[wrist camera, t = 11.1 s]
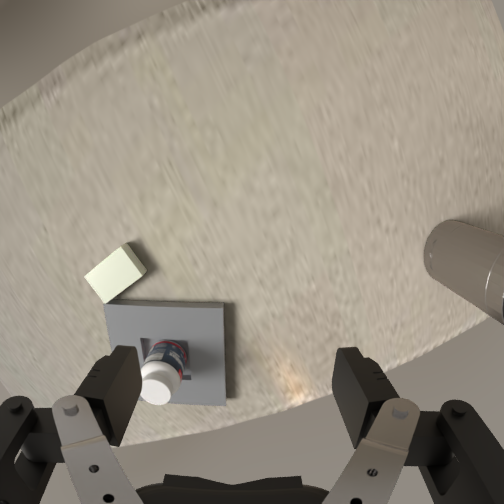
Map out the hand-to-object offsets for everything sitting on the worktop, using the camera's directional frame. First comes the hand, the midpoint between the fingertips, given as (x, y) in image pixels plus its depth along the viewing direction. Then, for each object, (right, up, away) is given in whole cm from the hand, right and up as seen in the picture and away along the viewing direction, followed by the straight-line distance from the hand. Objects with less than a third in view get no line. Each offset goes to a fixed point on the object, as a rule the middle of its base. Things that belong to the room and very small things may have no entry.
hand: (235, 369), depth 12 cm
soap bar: (-17, +2, +28) cm, 33 cm away
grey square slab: (-11, -10, +31) cm, 34 cm away
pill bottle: (-11, -10, +31) cm, 34 cm away
